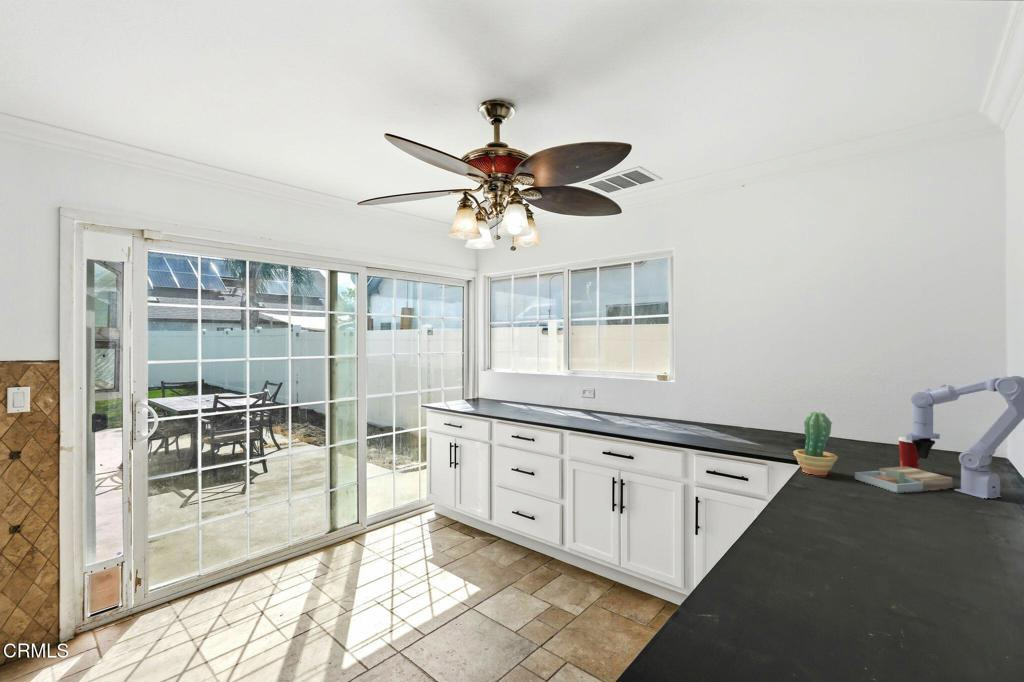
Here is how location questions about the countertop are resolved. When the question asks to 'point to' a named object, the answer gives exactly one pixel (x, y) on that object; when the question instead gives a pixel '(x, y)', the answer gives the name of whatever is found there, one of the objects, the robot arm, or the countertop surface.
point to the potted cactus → (816, 445)
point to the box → (898, 488)
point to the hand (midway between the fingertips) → (922, 458)
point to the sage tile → (896, 475)
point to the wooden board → (924, 478)
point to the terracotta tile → (886, 478)
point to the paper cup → (908, 453)
